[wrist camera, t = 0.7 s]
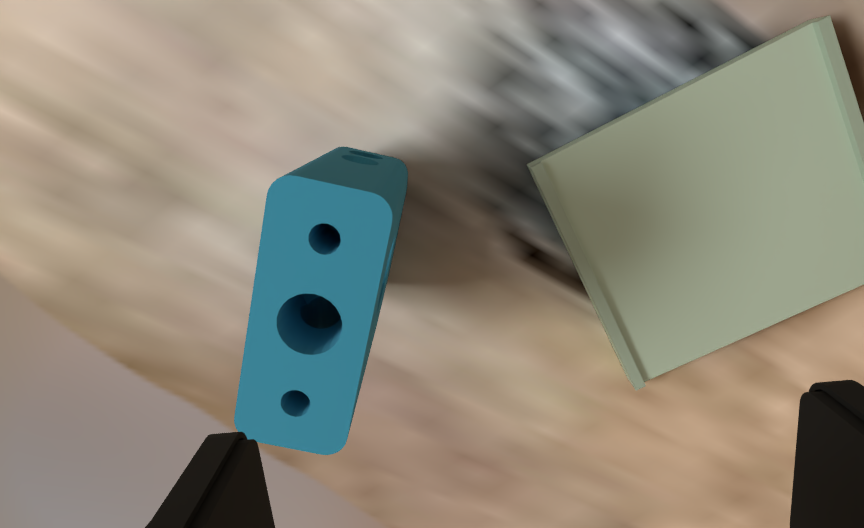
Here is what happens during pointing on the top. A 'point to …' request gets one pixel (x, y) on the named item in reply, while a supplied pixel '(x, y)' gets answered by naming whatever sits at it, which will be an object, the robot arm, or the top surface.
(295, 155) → the top surface
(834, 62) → the board
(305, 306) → the block
